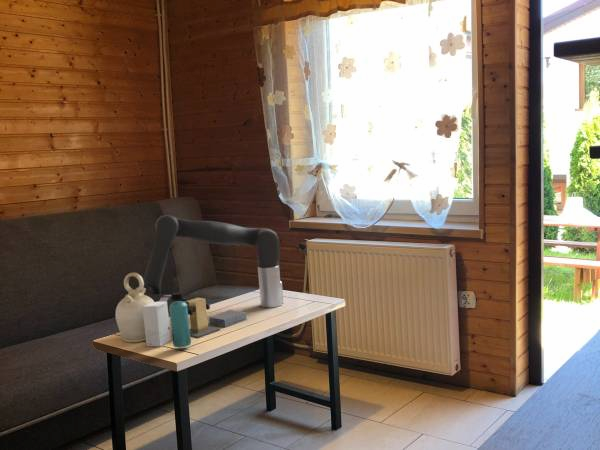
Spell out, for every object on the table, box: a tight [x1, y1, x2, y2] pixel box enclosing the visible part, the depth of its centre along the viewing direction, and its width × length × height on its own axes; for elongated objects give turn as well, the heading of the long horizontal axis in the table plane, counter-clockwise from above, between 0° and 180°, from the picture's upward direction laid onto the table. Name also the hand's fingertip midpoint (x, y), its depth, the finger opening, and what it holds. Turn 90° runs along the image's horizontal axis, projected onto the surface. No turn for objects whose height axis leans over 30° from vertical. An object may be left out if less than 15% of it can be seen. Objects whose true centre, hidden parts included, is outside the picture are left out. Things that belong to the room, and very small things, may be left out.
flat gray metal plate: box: [190, 325, 221, 339], centre depth 245 cm, size 11×11×1 cm
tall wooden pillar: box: [187, 297, 209, 333], centre depth 245 cm, size 5×4×12 cm
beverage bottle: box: [169, 291, 192, 348], centre depth 225 cm, size 6×7×20 cm
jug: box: [115, 272, 154, 344], centre depth 242 cm, size 15×16×25 cm
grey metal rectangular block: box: [208, 309, 248, 328], centre depth 256 cm, size 12×9×3 cm
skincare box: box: [143, 301, 172, 348], centre depth 233 cm, size 8×6×15 cm
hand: (200, 309), depth 243 cm, fingers open, 8 cm apart
